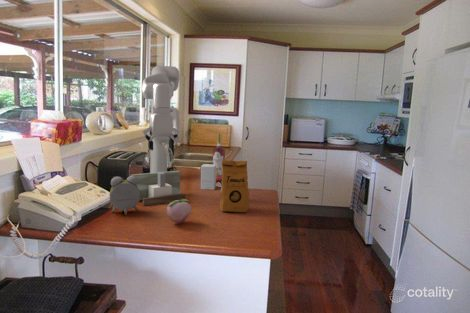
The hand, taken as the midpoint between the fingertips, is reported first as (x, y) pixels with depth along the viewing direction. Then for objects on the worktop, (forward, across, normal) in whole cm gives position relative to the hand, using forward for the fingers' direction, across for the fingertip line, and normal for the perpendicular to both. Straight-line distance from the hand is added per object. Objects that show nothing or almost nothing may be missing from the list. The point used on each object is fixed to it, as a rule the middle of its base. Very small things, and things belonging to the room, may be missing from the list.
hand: (161, 149), depth 158 cm
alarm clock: (+24, +20, +11) cm, 33 cm away
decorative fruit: (+24, +7, +33) cm, 41 cm away
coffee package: (+24, -21, +30) cm, 44 cm away
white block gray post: (+24, 0, 0) cm, 24 cm away
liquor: (+25, -46, -22) cm, 56 cm away
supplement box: (+25, -32, -10) cm, 41 cm away
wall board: (+24, 0, 0) cm, 24 cm away
